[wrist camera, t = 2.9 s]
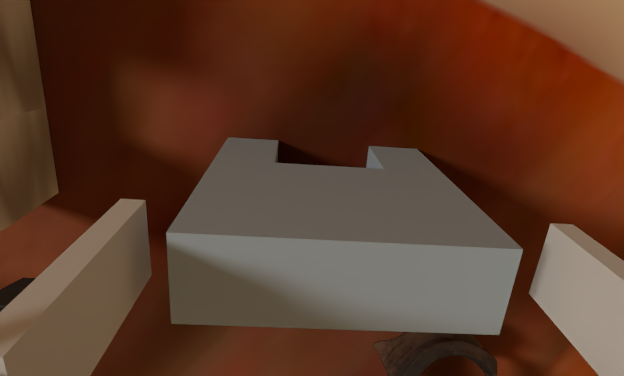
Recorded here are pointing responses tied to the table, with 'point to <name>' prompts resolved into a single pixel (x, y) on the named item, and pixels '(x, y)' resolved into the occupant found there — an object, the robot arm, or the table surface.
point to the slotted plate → (337, 247)
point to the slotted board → (22, 118)
